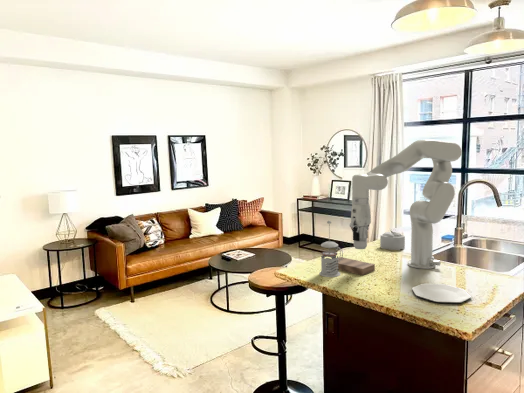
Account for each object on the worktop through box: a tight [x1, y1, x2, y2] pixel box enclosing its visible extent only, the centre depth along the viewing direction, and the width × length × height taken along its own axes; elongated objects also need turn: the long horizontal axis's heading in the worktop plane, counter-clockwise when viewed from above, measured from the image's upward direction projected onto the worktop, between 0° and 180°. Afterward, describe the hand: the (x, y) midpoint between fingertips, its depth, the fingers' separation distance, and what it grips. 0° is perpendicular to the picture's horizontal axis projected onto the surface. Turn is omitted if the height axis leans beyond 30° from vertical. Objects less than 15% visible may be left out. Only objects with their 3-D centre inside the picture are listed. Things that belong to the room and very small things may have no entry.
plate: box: [411, 282, 472, 304], centre depth 149 cm, size 20×20×2 cm
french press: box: [319, 220, 344, 278], centre depth 178 cm, size 10×12×25 cm
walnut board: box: [329, 256, 376, 276], centre depth 186 cm, size 20×10×3 cm, turn 42°
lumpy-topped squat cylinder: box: [379, 231, 406, 251], centre depth 223 cm, size 10×13×9 cm
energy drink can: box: [353, 221, 368, 250], centre depth 181 cm, size 6×6×15 cm
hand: (360, 238), depth 181 cm, fingers closed on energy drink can, 6 cm apart
